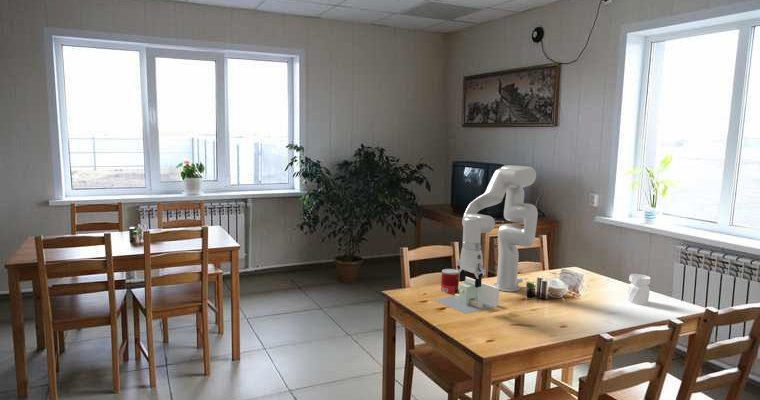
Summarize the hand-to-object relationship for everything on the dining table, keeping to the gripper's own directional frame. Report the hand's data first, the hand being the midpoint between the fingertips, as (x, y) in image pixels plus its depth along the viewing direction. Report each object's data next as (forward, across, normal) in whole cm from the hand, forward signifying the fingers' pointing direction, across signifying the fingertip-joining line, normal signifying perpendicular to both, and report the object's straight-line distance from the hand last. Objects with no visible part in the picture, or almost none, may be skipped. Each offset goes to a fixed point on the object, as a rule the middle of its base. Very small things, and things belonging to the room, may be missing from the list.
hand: (470, 284), depth 227 cm
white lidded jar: (+12, -35, -72) cm, 81 cm away
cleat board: (+10, 0, +2) cm, 10 cm away
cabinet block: (+8, 0, +1) cm, 8 cm away
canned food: (+10, +17, -4) cm, 20 cm away
